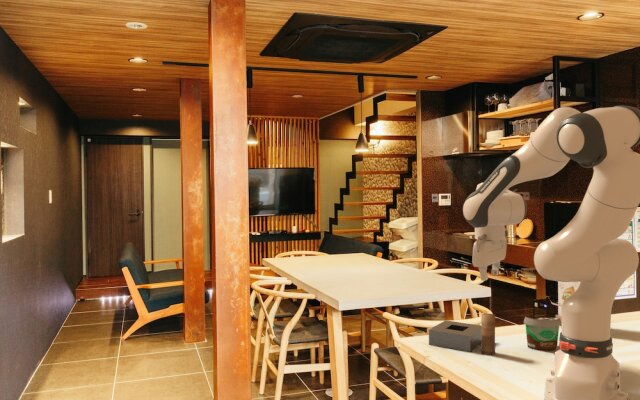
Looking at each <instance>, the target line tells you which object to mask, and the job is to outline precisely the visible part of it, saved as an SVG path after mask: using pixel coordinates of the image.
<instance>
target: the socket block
mask: <svg viewBox="0 0 640 400" xmlns="http://www.w3.org/2000/svg"><path fill="white" fill-rule="evenodd" d="M428 345H430V346H434V347H440V348H445V349H452V350H456V351H457V350H458V351H461V352H468V353H471V352H473V351H474V350H476V349H477V348H478V347H479V346H481V345H482V325H479V324H472V323H468V322H467V323H465V322H459V321H452V320H447V319H446V320H444V321H442V322H440V323H438V324H436V325H435V326H433V327H431V328H429V329H428Z"/></svg>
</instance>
